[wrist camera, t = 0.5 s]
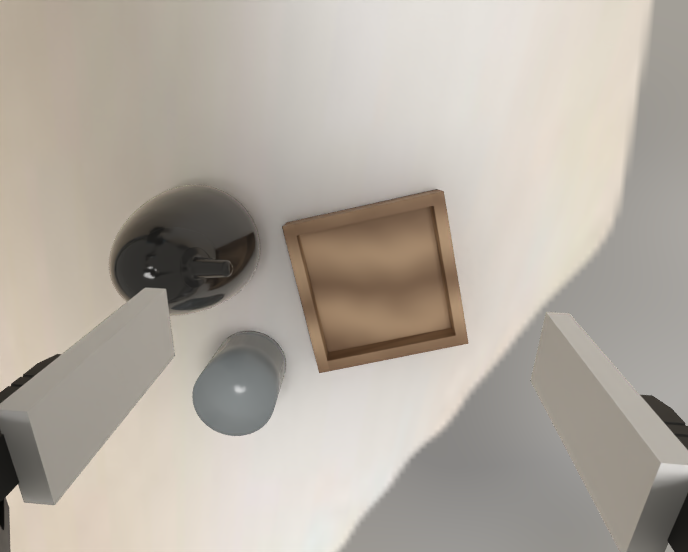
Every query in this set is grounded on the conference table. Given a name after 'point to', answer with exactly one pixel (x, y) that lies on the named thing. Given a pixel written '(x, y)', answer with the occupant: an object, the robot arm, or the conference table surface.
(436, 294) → the tray
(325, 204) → the conference table surface
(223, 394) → the grey round-ended cylinder
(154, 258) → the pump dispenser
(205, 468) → the conference table surface
